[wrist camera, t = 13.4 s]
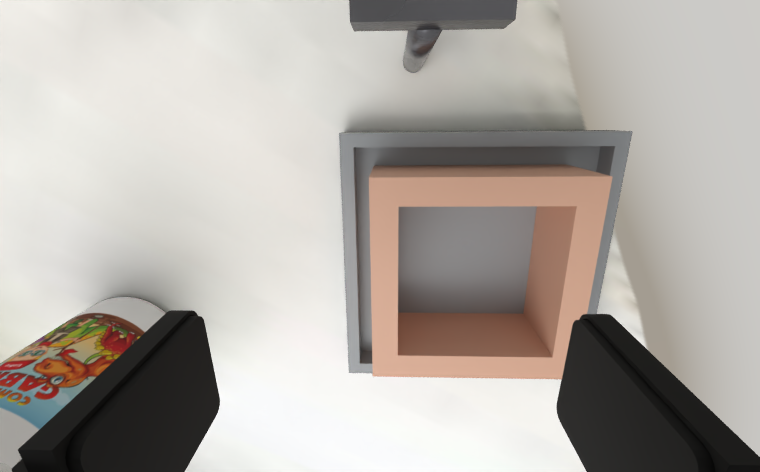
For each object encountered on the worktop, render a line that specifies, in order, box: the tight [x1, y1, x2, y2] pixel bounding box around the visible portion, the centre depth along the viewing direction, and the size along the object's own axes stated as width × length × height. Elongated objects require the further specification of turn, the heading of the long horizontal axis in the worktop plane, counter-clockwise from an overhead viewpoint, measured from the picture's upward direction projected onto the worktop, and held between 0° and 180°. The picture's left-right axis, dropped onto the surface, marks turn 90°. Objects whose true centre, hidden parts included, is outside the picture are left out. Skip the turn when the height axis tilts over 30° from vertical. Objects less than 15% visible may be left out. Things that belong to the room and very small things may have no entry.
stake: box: [349, 0, 517, 73], centre depth 16 cm, size 1×5×11 cm, turn 90°
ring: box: [369, 164, 613, 379], centre depth 22 cm, size 12×12×5 cm
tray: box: [339, 130, 632, 373], centre depth 24 cm, size 17×17×2 cm
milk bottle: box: [0, 297, 166, 468], centre depth 19 cm, size 8×8×20 cm
